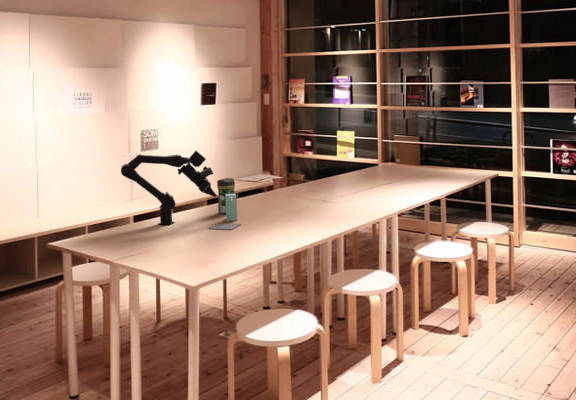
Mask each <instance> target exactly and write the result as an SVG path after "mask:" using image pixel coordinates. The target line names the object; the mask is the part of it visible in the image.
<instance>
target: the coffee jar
mask: <svg viewBox="0 0 576 400" xmlns="http://www.w3.org/2000/svg"><path fill="white" fill-rule="evenodd" d="M216 185H217V186H216V187H217V190H218V205H217V206H218V207H217V211H218V213H219V214H222V215H223V214H225V215H226V198H225V194H235V189H236V188H235V187H236V182H235V179H234V178H233V177H225V178H221V179H218V180H217V181H216Z"/></svg>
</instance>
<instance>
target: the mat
mask: <svg viewBox="0 0 576 400" xmlns="http://www.w3.org/2000/svg"><path fill="white" fill-rule="evenodd" d="M241 225H242V223H228V222H227V223H225V222H218V223H216V224H214V225H212V226H210V227H208V230H219V231H221V230H222V231H233V230H235V229H237V228H238V227H240V226H241Z"/></svg>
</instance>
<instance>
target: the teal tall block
mask: <svg viewBox="0 0 576 400" xmlns="http://www.w3.org/2000/svg"><path fill="white" fill-rule="evenodd" d="M225 198H226V214H225V217H226V221H227V222H231V221H233V222H234V221H238V206H237V205H238V204H237V202H238V201H237V194H236V193H234V194H225Z"/></svg>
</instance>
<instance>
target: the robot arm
mask: <svg viewBox="0 0 576 400" xmlns="http://www.w3.org/2000/svg"><path fill="white" fill-rule="evenodd" d="M206 160H207V159H206V157H204V156H203V155H202V154H201V153H200V152H199V151H197V150H195V151H193V153H192V154H191V155H190V156H189V157H185V156H182V155H180V154H171V155H166V156H165V155H163V156H162V155H150V154H149V155H148V154H140V153H139V154H137V155H136V156H135V157H134V158H133V159H131V160H130V161H129V162H128V163H124V164H122V166H121V167H120V174H121V175H122V176H123V177H125V178H127V179H129V180H131V181H133V182H135V183H137V184H138V186H140V187H142V188H143V189H144V190H146V191H147V192H148V193H149V194H150V195H152V196H153V197H155V198H156V199H157V200H158V201H159V203H160V206H159V217H160V219H159V220H160V221H159V222H158V223H157V225H159V226H160V225H161V226H170V225H173V224H175V221H173V213H172V212H173V211H172V210H174V208H175V207H176V200H175V198H174V195H171V194H170V193H169V191H166V192H165V193H164V192H162V191H161V190H159V189H158V188H157V187H156V186H155V185H153V184H152V183H151V182H149V181H148V180H147V179H146V178H144V177H143V176H141V175H140V174H139V173H138V171H137V170H136V169H137V168H138V167H139V166H140V165H141V164H152V165H153V164H156V165H167V166H170V167H175V168H177V175H179V176H180V175H181V174H183V175H185V177H187V178H188V179H189V180H190V181H191V182H192V183H193V184H194V185H195V186H196V187H197V188H198V191H200V192H201V193H203V194H206V195H209V196H212V197H215V198H216V197H217V194H216V193H215V191H214V189H213V188H212V187H211V185H212V184H211V182H210V181H209V179H208V177H209V176H212V175H214V171H213V170H212V168H211V167H210V166H208V167H207V166H206V165H205V166H204V167H202V170H201V171H199V170H197V169H196V168H199V167H201V166H202V165H203V163H204V162H205V161H206Z"/></svg>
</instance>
